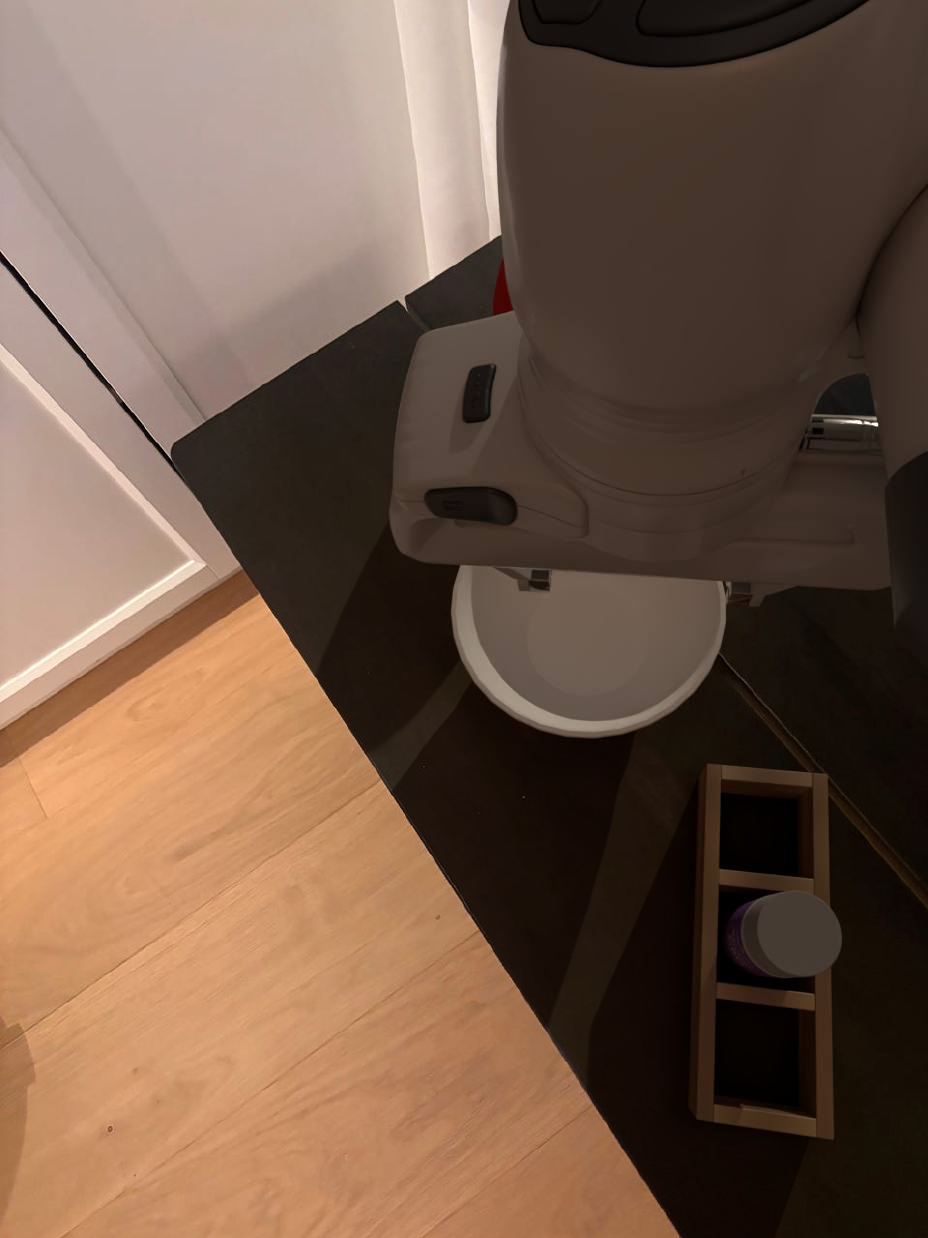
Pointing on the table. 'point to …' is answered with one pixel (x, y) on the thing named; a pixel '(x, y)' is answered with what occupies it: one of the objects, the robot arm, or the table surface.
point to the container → (781, 936)
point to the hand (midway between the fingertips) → (637, 584)
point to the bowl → (587, 646)
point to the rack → (809, 1000)
